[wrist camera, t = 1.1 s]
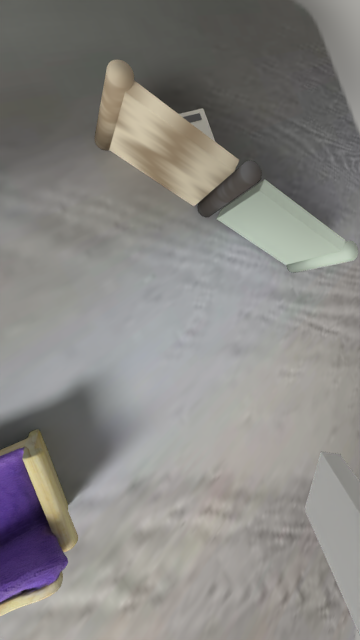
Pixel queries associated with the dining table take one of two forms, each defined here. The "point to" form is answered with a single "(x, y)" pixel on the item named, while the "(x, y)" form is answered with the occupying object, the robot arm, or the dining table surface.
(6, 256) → the dining table surface
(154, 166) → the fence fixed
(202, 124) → the card
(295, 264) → the panel
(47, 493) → the toy sofa
